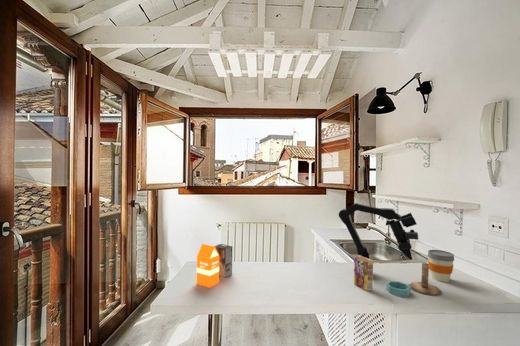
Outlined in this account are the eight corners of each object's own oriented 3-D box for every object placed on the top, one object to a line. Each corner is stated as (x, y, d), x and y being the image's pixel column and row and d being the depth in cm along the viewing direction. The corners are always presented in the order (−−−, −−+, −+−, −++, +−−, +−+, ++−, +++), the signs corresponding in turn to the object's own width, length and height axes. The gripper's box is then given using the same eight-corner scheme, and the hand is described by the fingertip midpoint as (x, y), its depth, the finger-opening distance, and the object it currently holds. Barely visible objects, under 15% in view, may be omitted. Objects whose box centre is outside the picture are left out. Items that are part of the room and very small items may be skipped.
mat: (416, 295, 132) (416, 294, 132) (403, 282, 147) (403, 282, 147) (448, 297, 131) (448, 296, 131) (432, 284, 146) (432, 283, 146)
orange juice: (206, 278, 148) (206, 242, 147) (219, 282, 143) (219, 244, 143) (196, 283, 141) (196, 245, 140) (209, 287, 136) (210, 248, 136)
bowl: (391, 296, 131) (391, 289, 131) (384, 287, 141) (384, 280, 141) (413, 297, 130) (413, 290, 130) (404, 288, 140) (404, 281, 140)
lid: (417, 294, 133) (418, 267, 133) (405, 283, 146) (406, 259, 146) (445, 295, 132) (446, 269, 132) (431, 284, 145) (431, 260, 145)
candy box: (372, 289, 138) (373, 260, 138) (366, 291, 136) (367, 261, 136) (359, 282, 146) (360, 254, 146) (353, 284, 144) (354, 255, 144)
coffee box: (232, 274, 155) (233, 246, 154) (225, 277, 149) (225, 248, 149) (220, 270, 160) (221, 243, 159) (213, 273, 154) (213, 246, 154)
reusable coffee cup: (440, 274, 161) (441, 249, 161) (459, 283, 148) (460, 256, 148) (421, 275, 159) (422, 249, 158) (439, 284, 146) (440, 256, 146)
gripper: (414, 228, 140) (428, 258, 138) (411, 222, 157) (424, 248, 154) (392, 235, 145) (405, 263, 142) (392, 228, 162) (404, 254, 159)
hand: (410, 257), depth 149 cm, fingers open, 9 cm apart
